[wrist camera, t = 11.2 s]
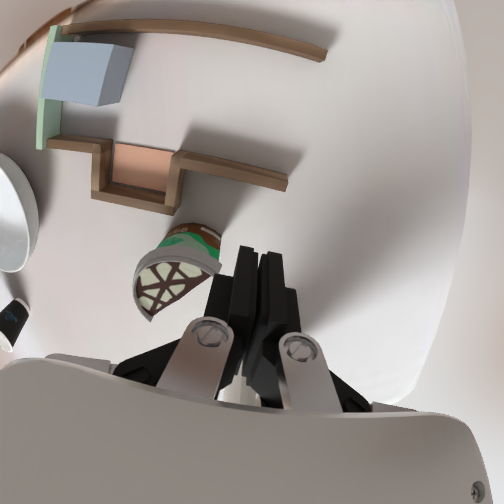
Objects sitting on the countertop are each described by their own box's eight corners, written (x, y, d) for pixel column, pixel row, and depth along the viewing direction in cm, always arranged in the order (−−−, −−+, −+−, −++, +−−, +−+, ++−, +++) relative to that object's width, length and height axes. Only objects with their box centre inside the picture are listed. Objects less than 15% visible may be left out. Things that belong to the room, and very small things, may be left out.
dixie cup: (19, 315, 51) (-3, 347, 42) (6, 290, 47) (-20, 321, 38) (39, 321, 51) (17, 356, 42) (26, 294, 47) (0, 329, 38)
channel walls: (270, 227, 37) (270, 238, 34) (59, 182, 34) (47, 189, 32) (322, 53, 25) (327, 50, 23) (75, 27, 23) (62, 25, 20)
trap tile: (168, 191, 35) (168, 192, 35) (112, 181, 34) (112, 181, 34) (174, 152, 32) (173, 152, 32) (115, 143, 32) (115, 143, 31)
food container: (197, 195, 35) (175, 233, 27) (230, 229, 37) (219, 276, 29) (138, 248, 40) (109, 292, 31) (168, 276, 42) (147, 324, 33)
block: (120, 102, 29) (97, 106, 24) (65, 93, 28) (40, 97, 23) (135, 48, 25) (113, 44, 21) (78, 44, 24) (52, 42, 19)
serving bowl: (-20, 133, 29) (-47, 145, 23) (57, 152, 32) (26, 168, 26) (-14, 232, 39) (-35, 250, 34) (56, 267, 42) (36, 290, 37)
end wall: (59, 142, 31) (42, 149, 28) (53, 141, 31) (36, 149, 28) (75, 27, 23) (57, 25, 19) (68, 28, 22) (50, 26, 19)
